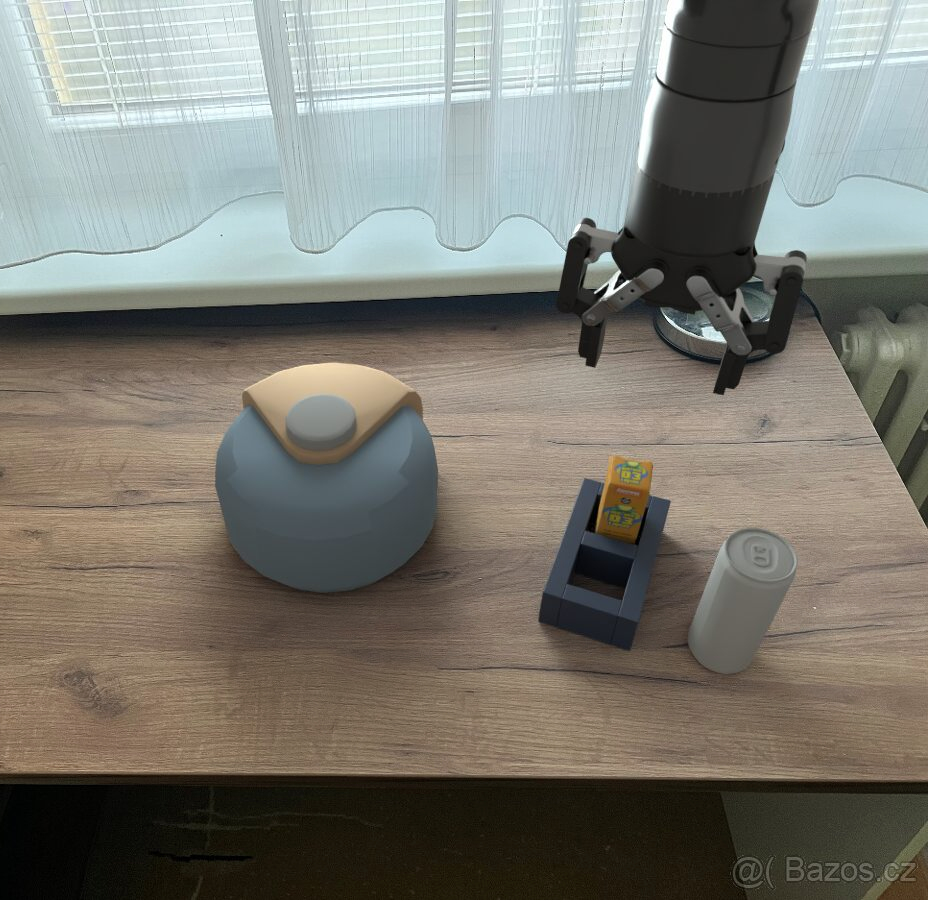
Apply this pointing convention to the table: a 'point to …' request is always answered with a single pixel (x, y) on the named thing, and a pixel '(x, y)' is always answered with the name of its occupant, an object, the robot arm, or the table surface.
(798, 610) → the table surface
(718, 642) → the beverage can
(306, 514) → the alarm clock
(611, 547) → the holder
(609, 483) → the supplement box
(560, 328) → the table surface
